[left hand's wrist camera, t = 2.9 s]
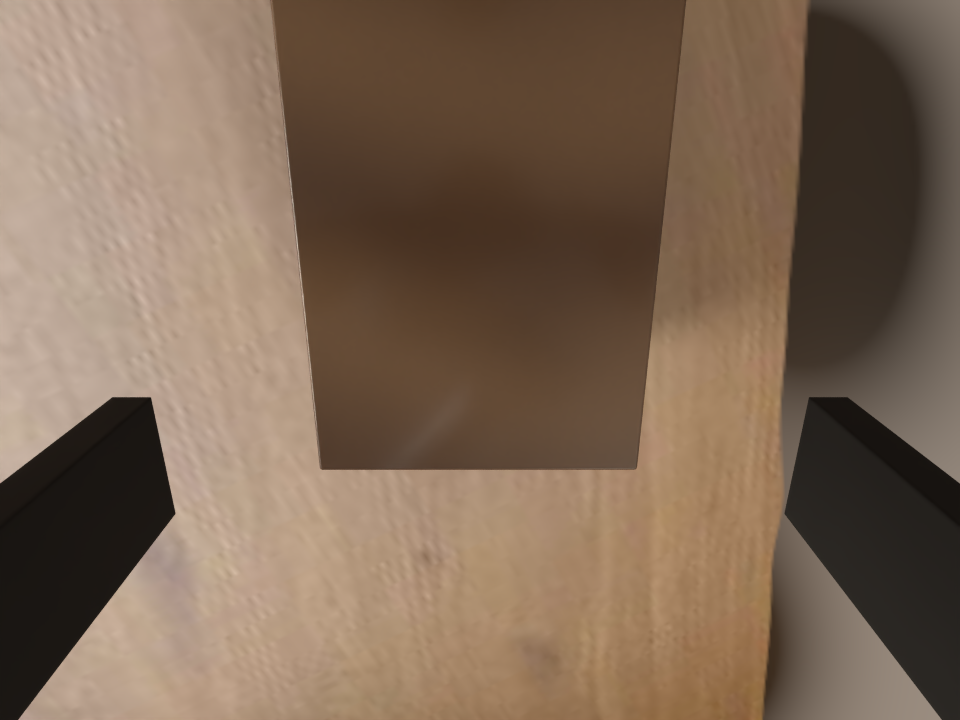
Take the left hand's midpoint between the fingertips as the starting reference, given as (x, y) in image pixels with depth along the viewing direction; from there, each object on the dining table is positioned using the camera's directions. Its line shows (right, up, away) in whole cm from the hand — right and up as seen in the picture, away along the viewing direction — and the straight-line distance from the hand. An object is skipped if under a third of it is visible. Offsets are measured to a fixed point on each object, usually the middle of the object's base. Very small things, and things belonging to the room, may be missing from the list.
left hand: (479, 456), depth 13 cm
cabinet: (0, +10, +16) cm, 19 cm away
